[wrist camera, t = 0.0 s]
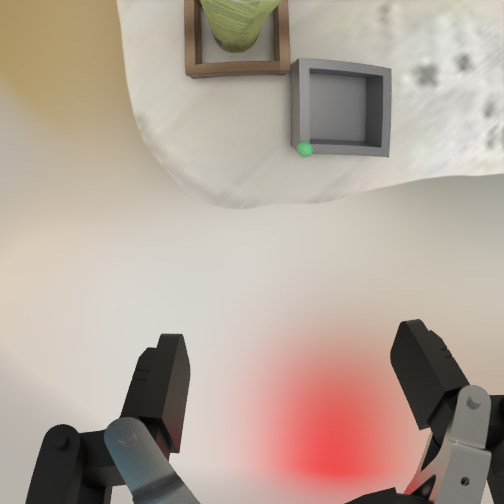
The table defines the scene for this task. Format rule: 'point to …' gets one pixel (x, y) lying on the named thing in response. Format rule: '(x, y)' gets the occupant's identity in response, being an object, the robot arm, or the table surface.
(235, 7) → the tube
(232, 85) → the table surface
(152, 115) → the table surface
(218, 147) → the table surface
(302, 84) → the socket block
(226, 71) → the brown wooden square frame
